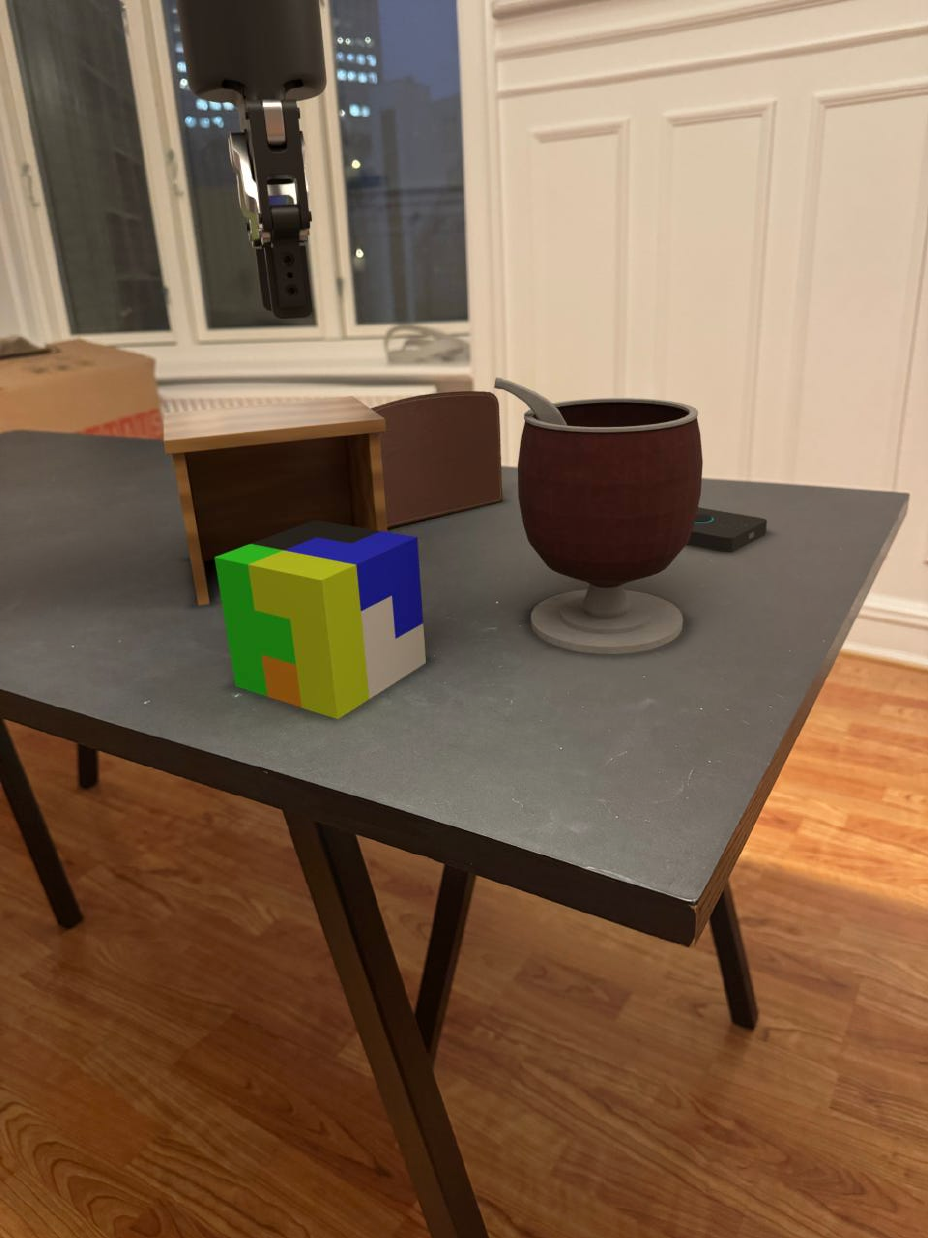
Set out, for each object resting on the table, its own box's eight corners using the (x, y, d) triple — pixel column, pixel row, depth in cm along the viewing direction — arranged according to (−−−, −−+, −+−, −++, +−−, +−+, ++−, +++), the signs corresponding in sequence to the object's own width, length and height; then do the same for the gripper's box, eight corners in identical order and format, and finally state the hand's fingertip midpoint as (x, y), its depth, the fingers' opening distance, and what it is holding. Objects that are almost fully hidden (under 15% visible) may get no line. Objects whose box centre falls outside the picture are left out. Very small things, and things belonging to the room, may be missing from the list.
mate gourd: (672, 589, 79) (683, 356, 71) (712, 655, 66) (731, 380, 59) (498, 596, 79) (491, 365, 72) (505, 663, 67) (497, 391, 59)
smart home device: (731, 537, 86) (566, 506, 99) (730, 554, 87) (566, 521, 100) (770, 517, 92) (608, 490, 105) (768, 533, 92) (608, 504, 105)
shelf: (397, 578, 85) (384, 418, 79) (193, 608, 80) (163, 440, 74) (365, 535, 98) (352, 395, 92) (188, 559, 93) (162, 413, 87)
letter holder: (504, 502, 108) (500, 384, 103) (363, 537, 98) (351, 407, 92) (456, 487, 116) (451, 377, 110) (321, 518, 105) (307, 397, 100)
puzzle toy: (426, 663, 67) (417, 536, 63) (337, 719, 60) (321, 580, 56) (328, 637, 73) (314, 519, 69) (235, 686, 65) (214, 557, 61)
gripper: (177, 25, 53) (220, 312, 59) (170, -51, 40) (226, 326, 46) (303, 25, 55) (332, 304, 61) (335, -47, 42) (367, 315, 48)
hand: (286, 313), depth 54 cm, fingers open, 8 cm apart
